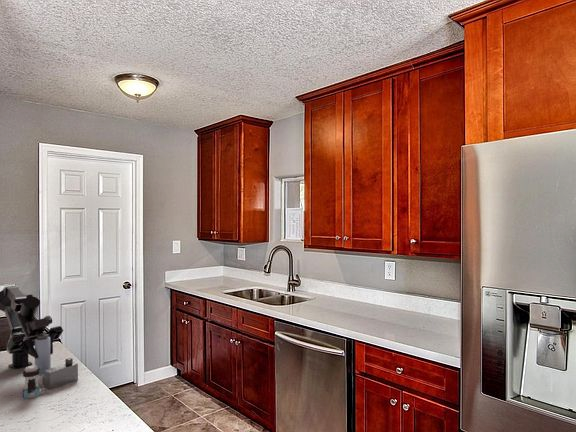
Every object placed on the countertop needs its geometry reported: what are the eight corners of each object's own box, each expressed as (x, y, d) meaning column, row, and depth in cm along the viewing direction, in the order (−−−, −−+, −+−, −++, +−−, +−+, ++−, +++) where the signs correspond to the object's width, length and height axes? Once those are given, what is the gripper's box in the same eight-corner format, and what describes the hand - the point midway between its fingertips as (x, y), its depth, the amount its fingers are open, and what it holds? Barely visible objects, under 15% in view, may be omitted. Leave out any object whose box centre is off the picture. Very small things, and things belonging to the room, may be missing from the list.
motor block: (36, 384, 154) (36, 362, 154) (64, 375, 163) (64, 354, 163) (50, 389, 150) (49, 366, 150) (77, 379, 158) (77, 358, 158)
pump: (32, 373, 161) (31, 336, 161) (46, 369, 165) (45, 332, 165) (39, 376, 158) (39, 338, 158) (53, 371, 163) (53, 334, 163)
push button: (42, 390, 149) (42, 362, 149) (46, 395, 145) (46, 366, 145) (20, 396, 144) (20, 367, 144) (24, 401, 140) (23, 371, 140)
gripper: (10, 315, 156) (26, 350, 150) (60, 305, 172) (76, 336, 166) (0, 333, 160) (15, 368, 154) (50, 322, 176) (65, 353, 170)
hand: (44, 355), depth 161 cm, fingers closed on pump, 5 cm apart
